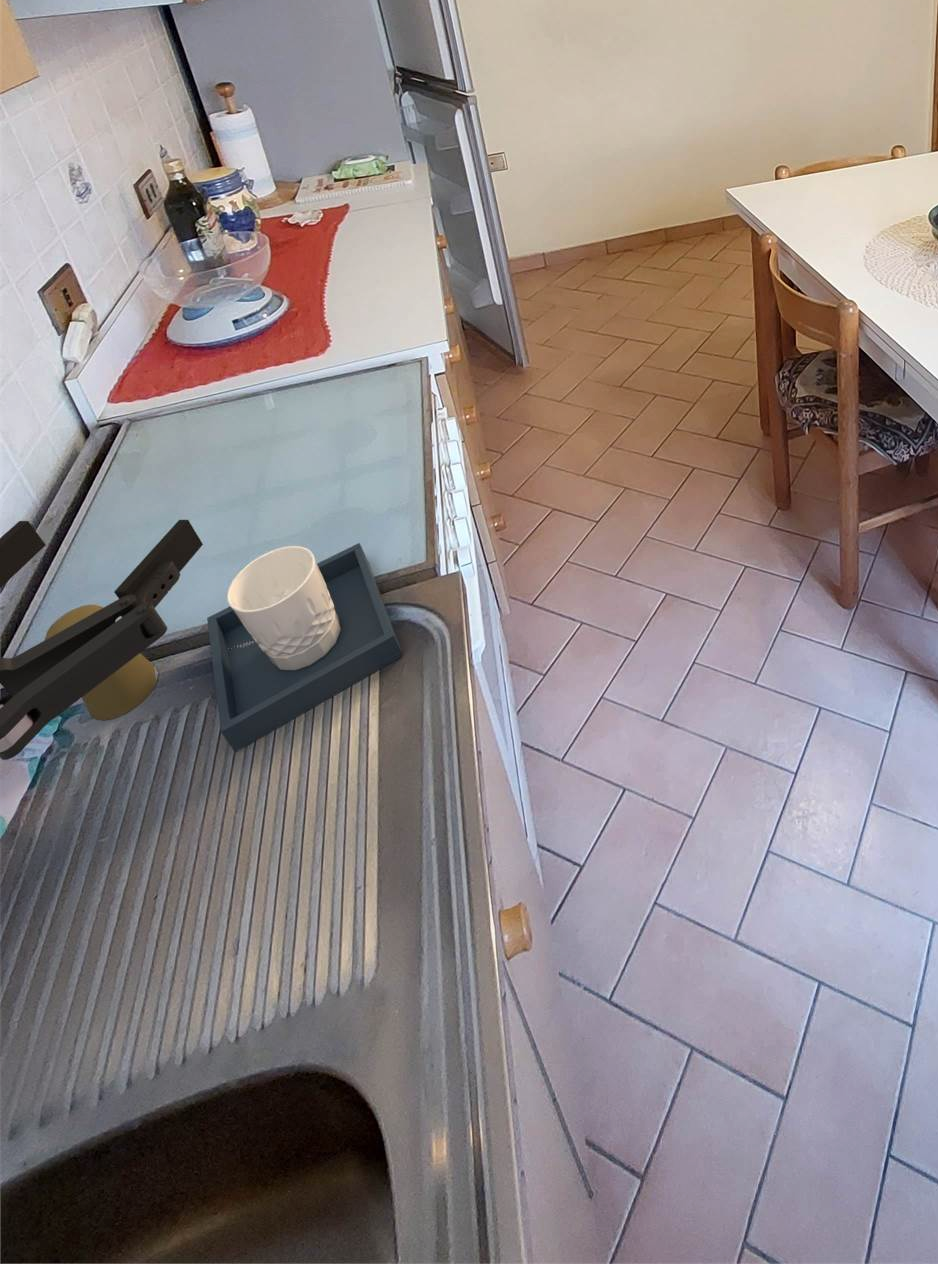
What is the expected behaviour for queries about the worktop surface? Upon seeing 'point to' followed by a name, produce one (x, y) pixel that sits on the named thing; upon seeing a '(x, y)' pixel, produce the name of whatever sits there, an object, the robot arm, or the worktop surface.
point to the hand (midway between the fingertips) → (111, 532)
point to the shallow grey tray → (274, 697)
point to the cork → (112, 676)
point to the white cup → (286, 607)
